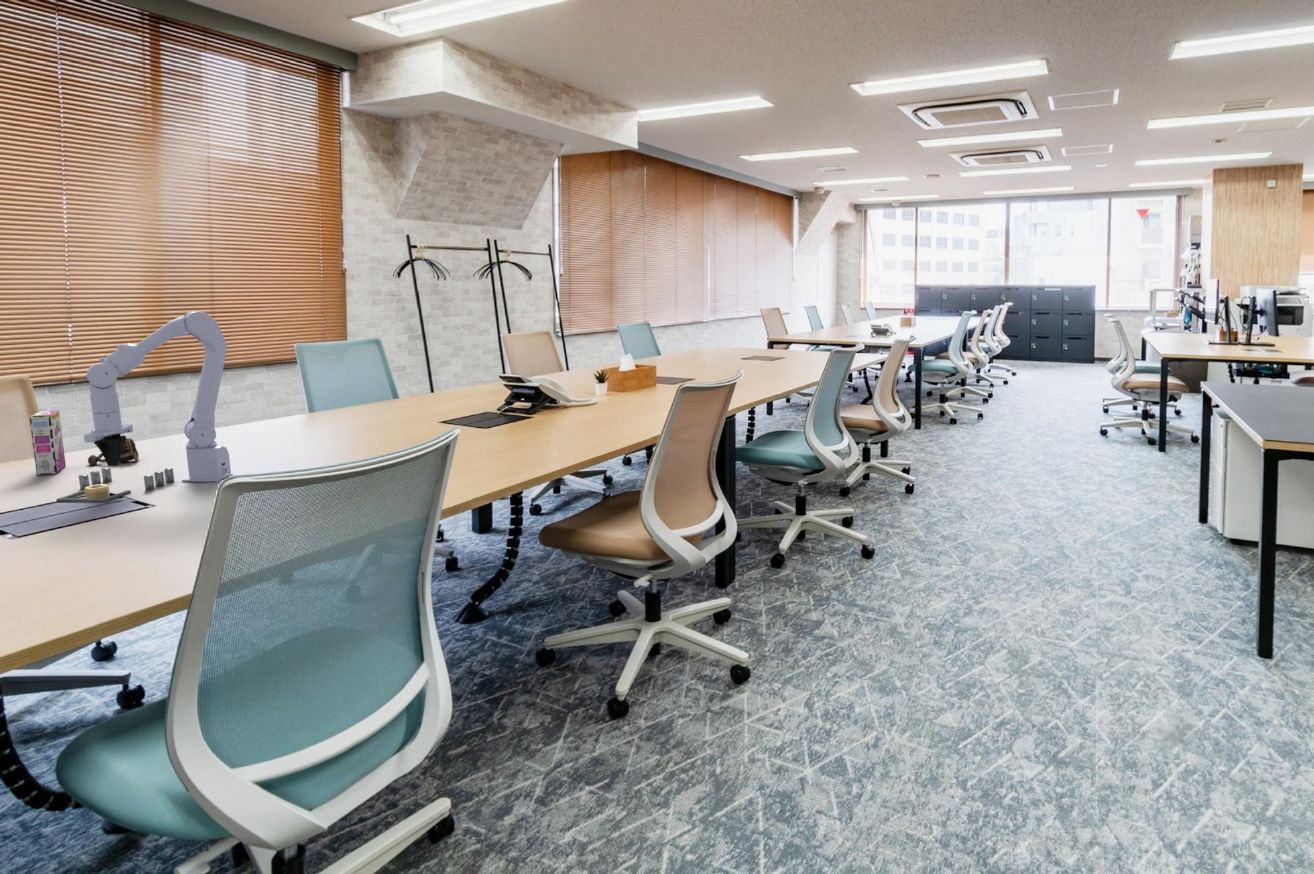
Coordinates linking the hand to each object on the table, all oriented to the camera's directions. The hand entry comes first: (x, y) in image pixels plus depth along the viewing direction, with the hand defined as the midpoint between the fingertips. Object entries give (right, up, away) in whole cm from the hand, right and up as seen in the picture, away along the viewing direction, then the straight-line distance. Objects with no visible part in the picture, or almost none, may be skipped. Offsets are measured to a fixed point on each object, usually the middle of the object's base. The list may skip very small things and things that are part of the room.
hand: (113, 465), depth 207 cm
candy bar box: (-32, -3, +22) cm, 39 cm away
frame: (0, -7, -6) cm, 9 cm away
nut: (0, -7, -5) cm, 9 cm away
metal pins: (0, -5, +6) cm, 8 cm away
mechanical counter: (-21, -1, +34) cm, 40 cm away
